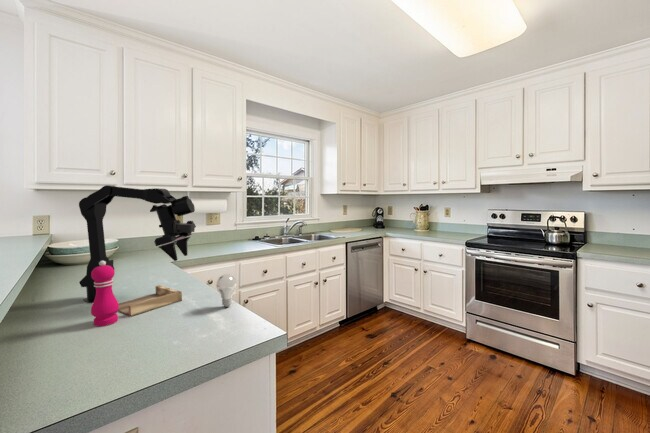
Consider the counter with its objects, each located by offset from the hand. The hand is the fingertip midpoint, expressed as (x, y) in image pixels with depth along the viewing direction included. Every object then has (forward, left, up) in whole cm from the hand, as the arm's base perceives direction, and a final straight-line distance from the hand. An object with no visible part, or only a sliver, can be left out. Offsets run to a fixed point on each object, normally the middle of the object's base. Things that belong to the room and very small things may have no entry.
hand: (181, 258), depth 119 cm
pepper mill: (+1, -27, -16) cm, 31 cm away
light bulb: (+23, +3, -16) cm, 28 cm away
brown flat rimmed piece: (-5, -11, -16) cm, 20 cm away
